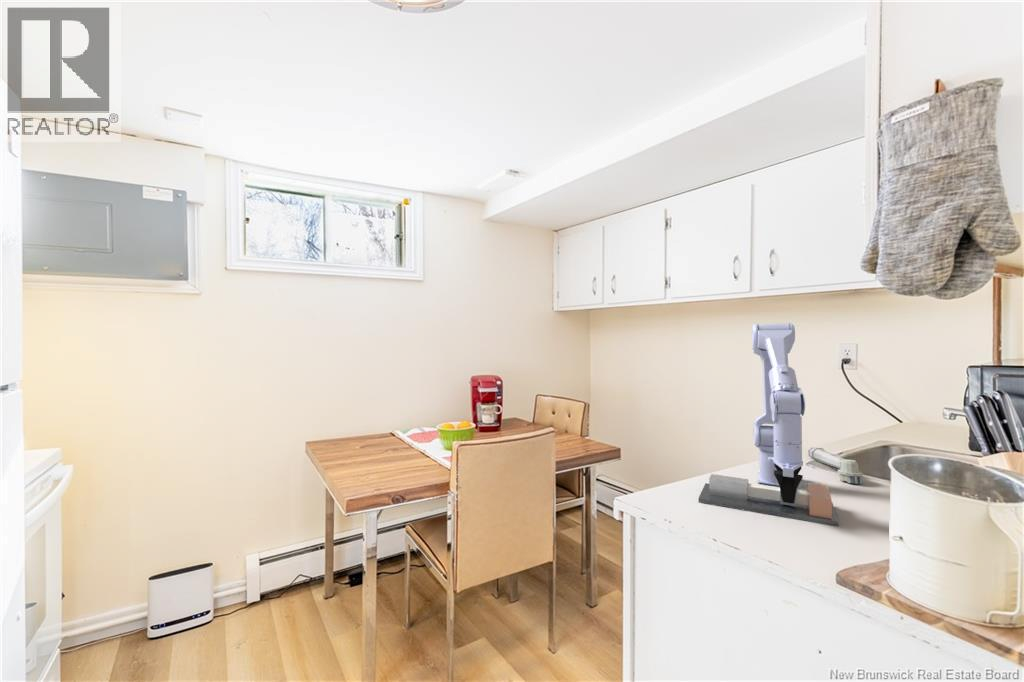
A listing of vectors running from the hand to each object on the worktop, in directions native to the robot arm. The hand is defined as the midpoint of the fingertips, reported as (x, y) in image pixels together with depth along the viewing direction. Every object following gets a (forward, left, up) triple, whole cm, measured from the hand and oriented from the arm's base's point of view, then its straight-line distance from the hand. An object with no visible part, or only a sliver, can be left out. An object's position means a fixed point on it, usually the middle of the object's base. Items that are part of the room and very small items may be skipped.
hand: (788, 498), depth 104 cm
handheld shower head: (-38, +12, -3) cm, 39 cm away
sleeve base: (0, -5, -2) cm, 6 cm away
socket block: (0, +6, -1) cm, 6 cm away
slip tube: (0, -2, -1) cm, 2 cm away
